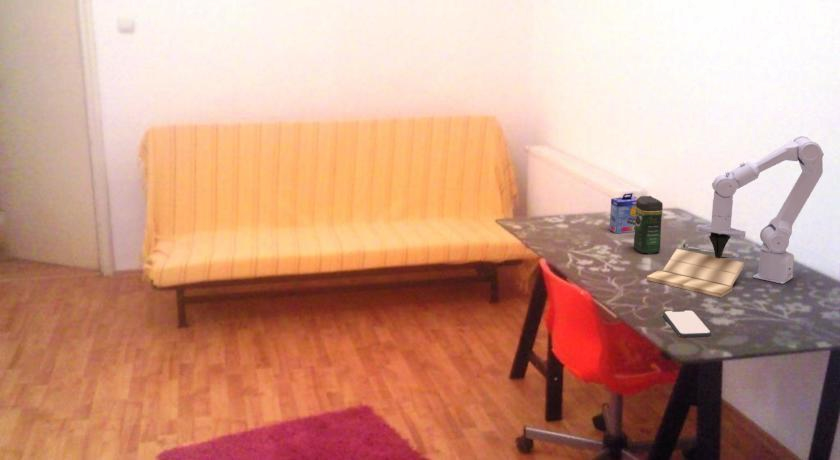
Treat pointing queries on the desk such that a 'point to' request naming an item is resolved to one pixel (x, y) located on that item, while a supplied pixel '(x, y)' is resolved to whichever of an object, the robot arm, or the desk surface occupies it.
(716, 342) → the desk surface
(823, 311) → the desk surface
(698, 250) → the caliper
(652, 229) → the coffee jar
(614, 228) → the ink cartridge box
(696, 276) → the loose plank
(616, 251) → the desk surface
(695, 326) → the smartphone with white screen
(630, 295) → the desk surface
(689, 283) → the laid strip
